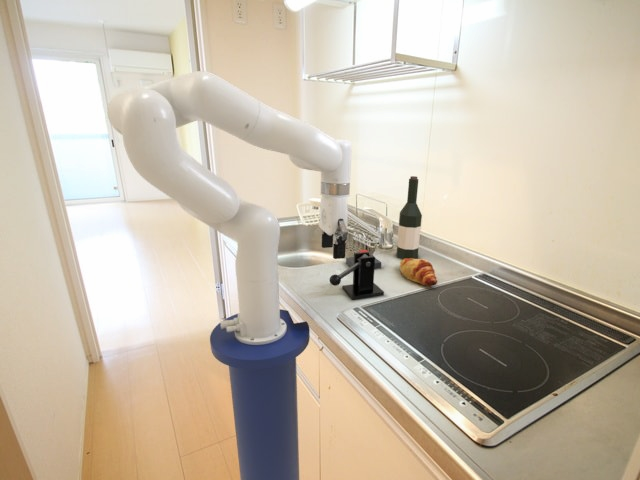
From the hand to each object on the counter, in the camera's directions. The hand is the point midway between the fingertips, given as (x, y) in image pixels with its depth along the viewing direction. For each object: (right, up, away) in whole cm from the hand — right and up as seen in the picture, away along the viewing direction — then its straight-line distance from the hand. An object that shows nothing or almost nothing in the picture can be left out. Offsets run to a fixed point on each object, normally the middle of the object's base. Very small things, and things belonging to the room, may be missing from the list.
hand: (332, 252), depth 99 cm
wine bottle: (+26, -1, +40) cm, 48 cm away
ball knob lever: (+5, -6, +5) cm, 10 cm away
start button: (+9, -1, +28) cm, 29 cm away
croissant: (+27, -8, +21) cm, 35 cm away
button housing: (+9, -4, +29) cm, 31 cm away
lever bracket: (+8, -12, +8) cm, 17 cm away
